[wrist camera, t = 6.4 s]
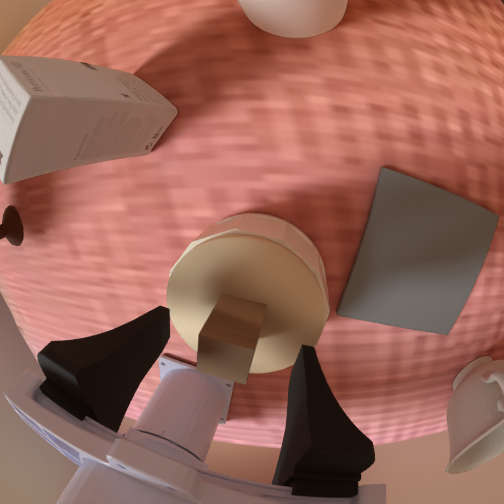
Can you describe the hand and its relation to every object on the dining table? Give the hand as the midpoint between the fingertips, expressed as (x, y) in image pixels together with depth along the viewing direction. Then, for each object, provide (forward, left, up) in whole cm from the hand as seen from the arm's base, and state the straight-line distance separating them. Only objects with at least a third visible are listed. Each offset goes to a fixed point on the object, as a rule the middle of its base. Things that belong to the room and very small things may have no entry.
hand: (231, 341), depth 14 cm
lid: (0, 0, -3) cm, 3 cm away
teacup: (-5, -25, -7) cm, 26 cm away
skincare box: (+11, +11, -7) cm, 17 cm away
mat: (+4, -12, -7) cm, 15 cm away
